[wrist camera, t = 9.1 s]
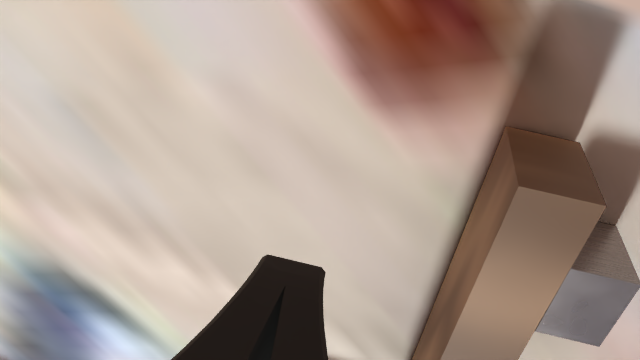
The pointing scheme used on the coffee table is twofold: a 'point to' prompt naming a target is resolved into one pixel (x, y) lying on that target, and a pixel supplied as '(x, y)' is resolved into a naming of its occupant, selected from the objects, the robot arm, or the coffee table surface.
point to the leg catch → (593, 290)
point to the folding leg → (513, 249)
